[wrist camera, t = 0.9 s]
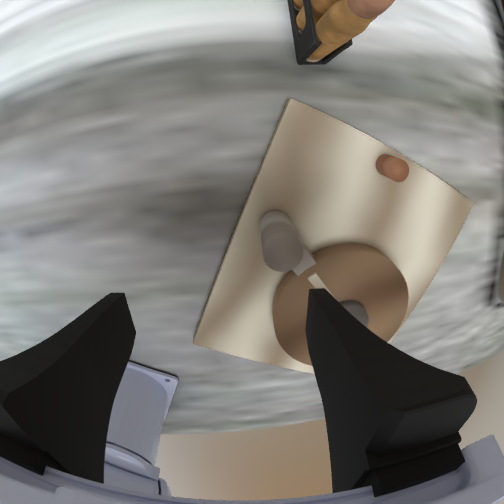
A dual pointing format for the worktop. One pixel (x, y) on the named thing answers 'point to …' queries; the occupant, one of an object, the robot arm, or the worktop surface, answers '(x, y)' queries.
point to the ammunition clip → (329, 26)
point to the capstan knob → (329, 283)
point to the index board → (327, 224)
